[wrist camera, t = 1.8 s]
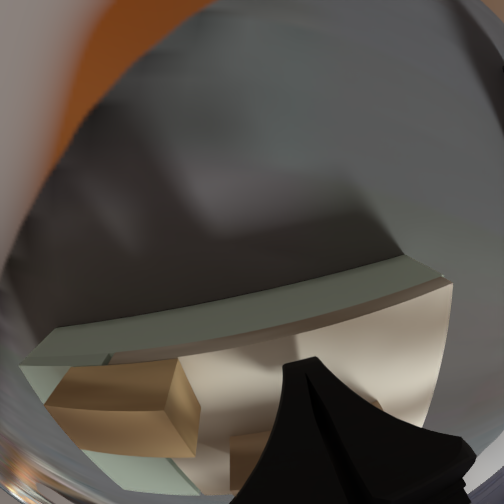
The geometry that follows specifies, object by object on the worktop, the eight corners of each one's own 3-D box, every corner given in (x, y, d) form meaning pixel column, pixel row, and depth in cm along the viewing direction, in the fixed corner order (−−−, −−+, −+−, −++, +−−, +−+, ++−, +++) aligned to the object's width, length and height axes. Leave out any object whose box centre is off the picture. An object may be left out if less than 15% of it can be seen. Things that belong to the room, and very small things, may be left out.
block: (201, 406, 11) (195, 457, 8) (98, 409, 11) (79, 449, 8) (178, 358, 10) (164, 410, 7) (70, 367, 10) (43, 404, 7)
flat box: (393, 404, 19) (417, 442, 14) (134, 449, 19) (123, 489, 14) (404, 254, 15) (455, 281, 10) (55, 327, 15) (18, 365, 10)
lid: (410, 435, 15) (433, 474, 11) (205, 485, 15) (203, 530, 11) (441, 275, 11) (501, 312, 7) (115, 352, 11) (77, 416, 7)
